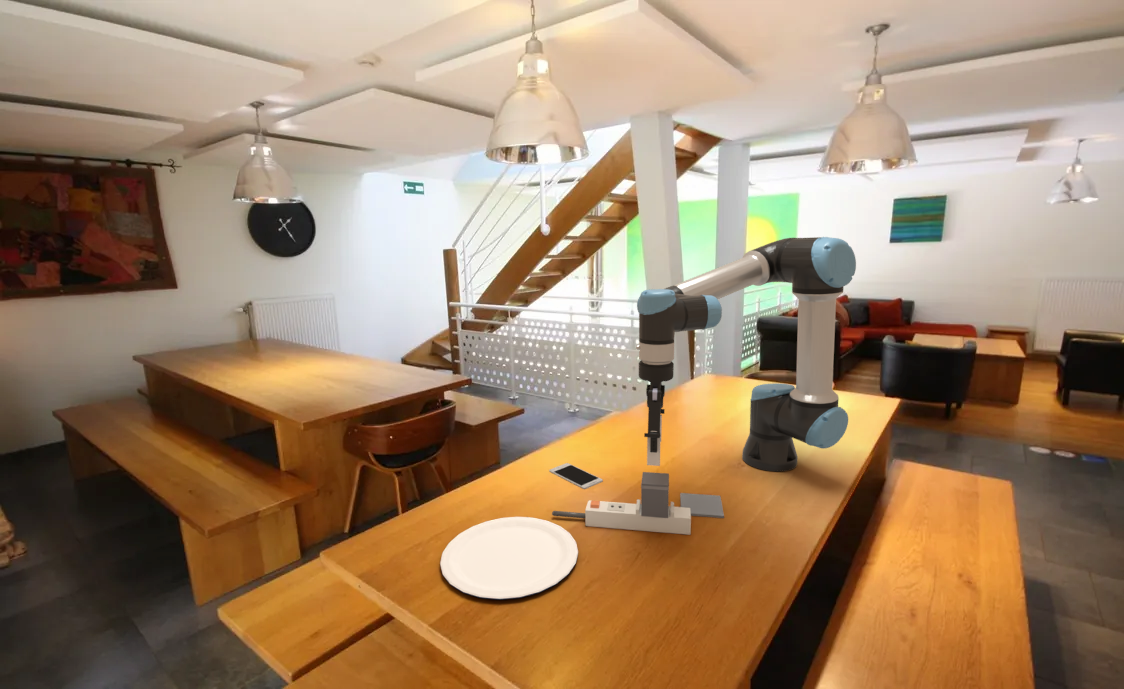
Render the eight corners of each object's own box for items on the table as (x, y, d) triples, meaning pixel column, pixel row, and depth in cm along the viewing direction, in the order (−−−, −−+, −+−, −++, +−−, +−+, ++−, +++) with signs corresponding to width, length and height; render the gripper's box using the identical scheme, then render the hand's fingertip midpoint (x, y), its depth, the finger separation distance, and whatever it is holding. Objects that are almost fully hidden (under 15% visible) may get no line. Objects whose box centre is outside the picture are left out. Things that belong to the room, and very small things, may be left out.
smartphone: (567, 465, 158) (567, 462, 158) (603, 482, 146) (603, 479, 146) (548, 472, 153) (548, 469, 153) (584, 491, 142) (584, 487, 142)
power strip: (689, 523, 124) (690, 503, 123) (690, 534, 119) (691, 513, 118) (554, 512, 130) (553, 493, 129) (550, 522, 126) (549, 502, 125)
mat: (720, 497, 135) (720, 495, 135) (723, 518, 126) (724, 515, 125) (680, 495, 137) (680, 492, 137) (680, 514, 128) (680, 512, 127)
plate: (525, 626, 93) (525, 617, 93) (410, 574, 108) (409, 567, 108) (602, 543, 117) (602, 536, 117) (499, 511, 133) (499, 504, 132)
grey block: (668, 504, 125) (669, 473, 123) (668, 518, 119) (668, 485, 117) (642, 502, 126) (642, 471, 124) (641, 516, 120) (641, 483, 118)
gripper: (641, 348, 128) (641, 431, 132) (634, 374, 104) (634, 475, 108) (673, 349, 126) (671, 433, 130) (673, 376, 102) (671, 477, 106)
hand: (654, 452), depth 119 cm, fingers open, 13 cm apart
